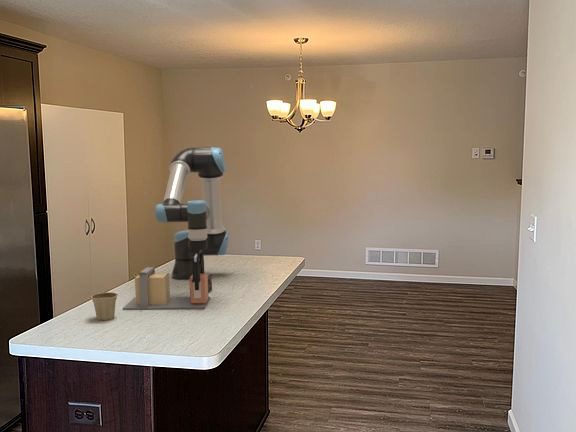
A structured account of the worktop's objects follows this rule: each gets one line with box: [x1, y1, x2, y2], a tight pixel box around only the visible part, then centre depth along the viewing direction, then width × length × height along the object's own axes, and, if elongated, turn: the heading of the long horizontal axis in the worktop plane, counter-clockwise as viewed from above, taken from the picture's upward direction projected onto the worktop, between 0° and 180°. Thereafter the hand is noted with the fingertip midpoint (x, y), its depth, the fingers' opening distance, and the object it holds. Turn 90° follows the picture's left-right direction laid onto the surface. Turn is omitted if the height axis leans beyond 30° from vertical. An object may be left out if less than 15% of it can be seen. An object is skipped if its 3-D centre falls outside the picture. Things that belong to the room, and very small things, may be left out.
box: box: [207, 273, 213, 294], centre depth 245 cm, size 6×6×7 cm
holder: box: [122, 266, 211, 311], centre depth 223 cm, size 16×32×14 cm, turn 89°
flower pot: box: [90, 292, 118, 321], centre depth 205 cm, size 9×9×9 cm
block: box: [189, 273, 209, 303], centre depth 223 cm, size 7×6×10 cm
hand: (199, 295), depth 224 cm, fingers closed on block, 7 cm apart
